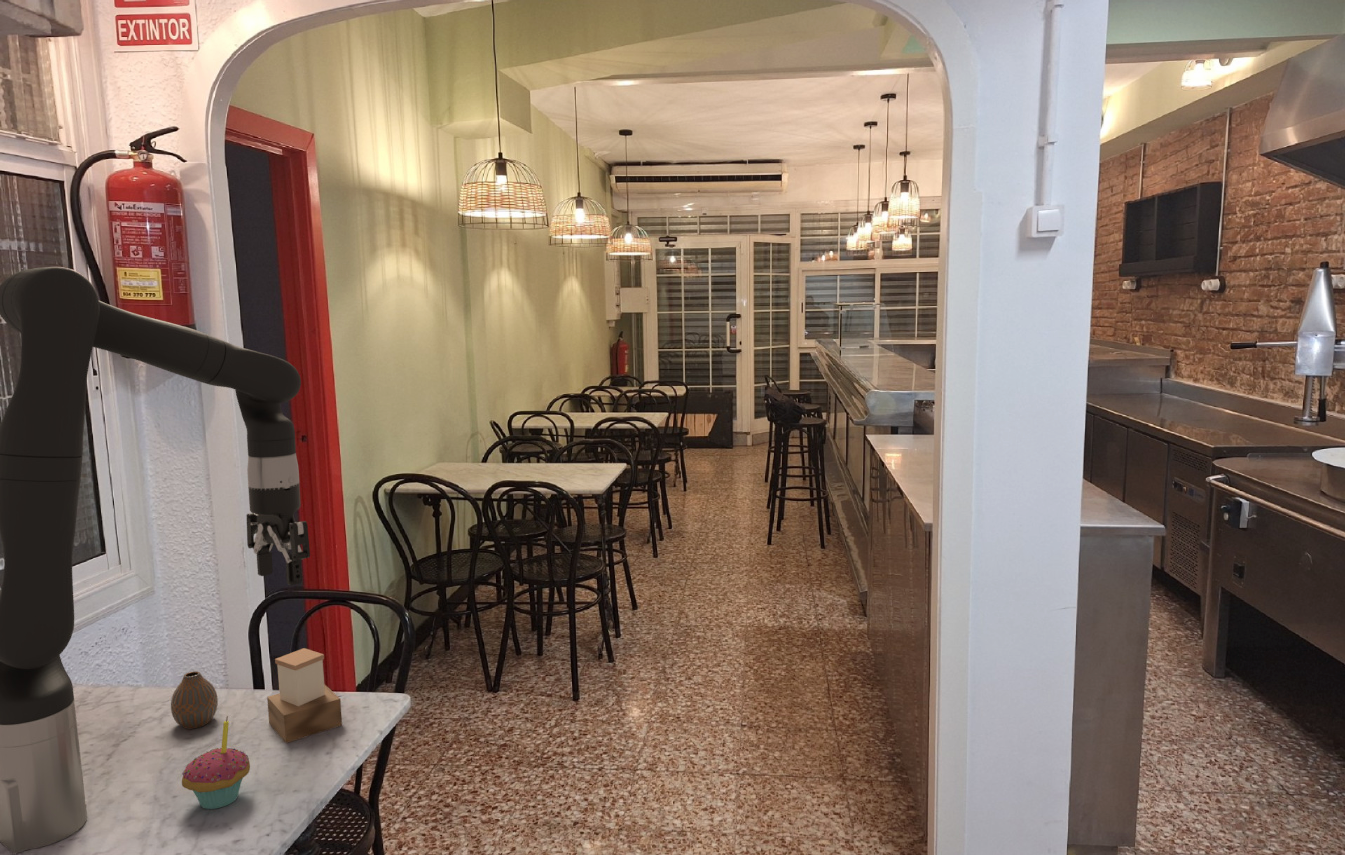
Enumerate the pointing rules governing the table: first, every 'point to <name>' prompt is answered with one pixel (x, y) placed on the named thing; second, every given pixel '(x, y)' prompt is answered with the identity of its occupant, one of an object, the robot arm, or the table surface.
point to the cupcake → (217, 774)
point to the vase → (194, 701)
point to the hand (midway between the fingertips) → (279, 579)
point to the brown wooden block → (304, 716)
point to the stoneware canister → (301, 676)
